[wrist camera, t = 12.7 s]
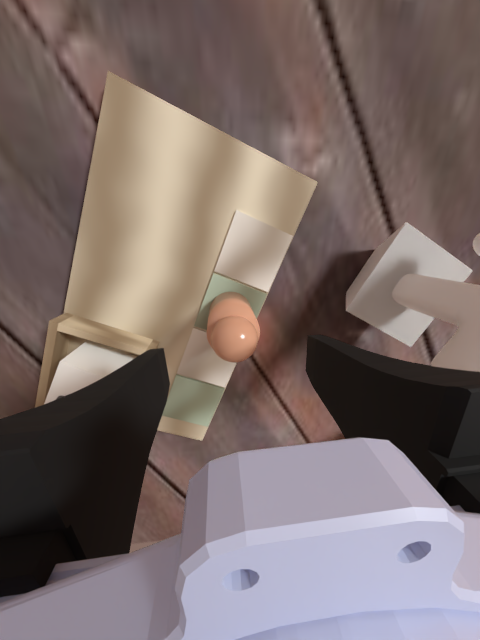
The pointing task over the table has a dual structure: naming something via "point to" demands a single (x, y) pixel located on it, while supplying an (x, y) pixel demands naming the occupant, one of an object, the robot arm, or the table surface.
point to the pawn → (232, 327)
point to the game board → (172, 245)
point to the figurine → (420, 295)
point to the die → (85, 368)
